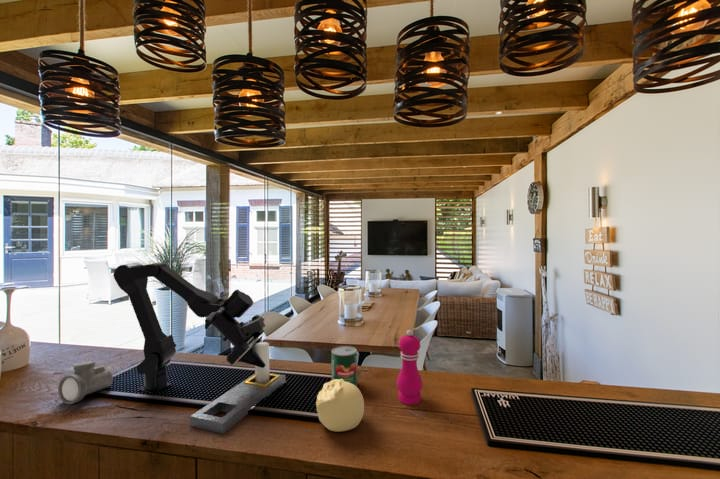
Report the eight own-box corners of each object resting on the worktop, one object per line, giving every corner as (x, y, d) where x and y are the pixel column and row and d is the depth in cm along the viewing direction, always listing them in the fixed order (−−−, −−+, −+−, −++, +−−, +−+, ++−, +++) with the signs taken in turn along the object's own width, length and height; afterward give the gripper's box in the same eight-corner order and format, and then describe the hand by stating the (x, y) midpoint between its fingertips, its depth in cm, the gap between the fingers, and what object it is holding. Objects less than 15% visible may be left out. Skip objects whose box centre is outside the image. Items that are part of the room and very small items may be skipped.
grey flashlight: (77, 406, 96) (77, 367, 97) (56, 404, 98) (56, 367, 99) (118, 391, 107) (118, 356, 108) (98, 389, 109) (99, 356, 110)
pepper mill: (425, 396, 101) (425, 327, 100) (418, 408, 94) (418, 335, 93) (401, 391, 104) (401, 325, 103) (393, 402, 97) (393, 332, 96)
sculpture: (319, 411, 93) (319, 371, 92) (364, 412, 92) (364, 372, 92) (312, 437, 81) (311, 392, 81) (363, 438, 81) (363, 393, 80)
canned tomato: (342, 393, 102) (341, 357, 102) (326, 384, 108) (326, 350, 108) (362, 385, 108) (362, 350, 107) (346, 377, 113) (346, 344, 113)
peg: (254, 388, 104) (253, 347, 104) (256, 382, 108) (256, 342, 108) (268, 387, 105) (267, 346, 104) (270, 381, 109) (269, 341, 108)
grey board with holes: (223, 433, 83) (222, 422, 83) (190, 426, 86) (190, 415, 86) (285, 383, 110) (285, 374, 109) (258, 378, 113) (258, 370, 113)
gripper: (237, 317, 96) (277, 356, 97) (257, 302, 115) (291, 335, 115) (209, 345, 97) (249, 384, 97) (234, 326, 115) (268, 358, 116)
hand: (266, 363), depth 106 cm, fingers closed on peg, 4 cm apart
